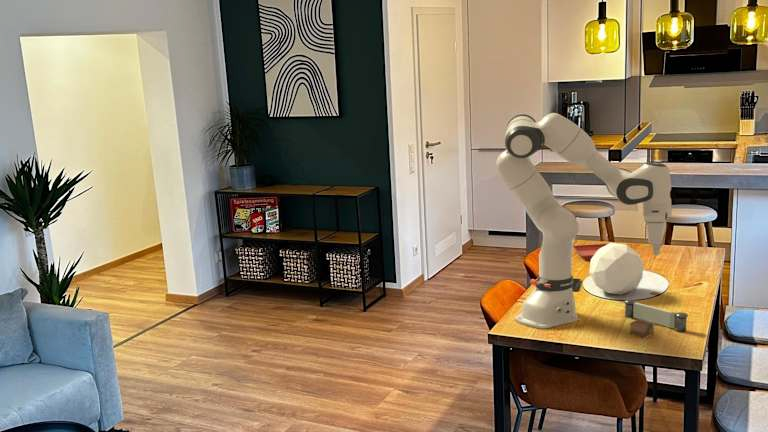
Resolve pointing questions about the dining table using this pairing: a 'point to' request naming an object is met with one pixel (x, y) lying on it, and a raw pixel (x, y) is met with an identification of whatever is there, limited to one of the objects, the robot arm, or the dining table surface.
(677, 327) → the gate posts
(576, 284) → the phone
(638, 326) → the walnut block
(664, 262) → the dining table surface
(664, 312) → the bar
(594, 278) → the geometric orb
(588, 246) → the plant saucer
